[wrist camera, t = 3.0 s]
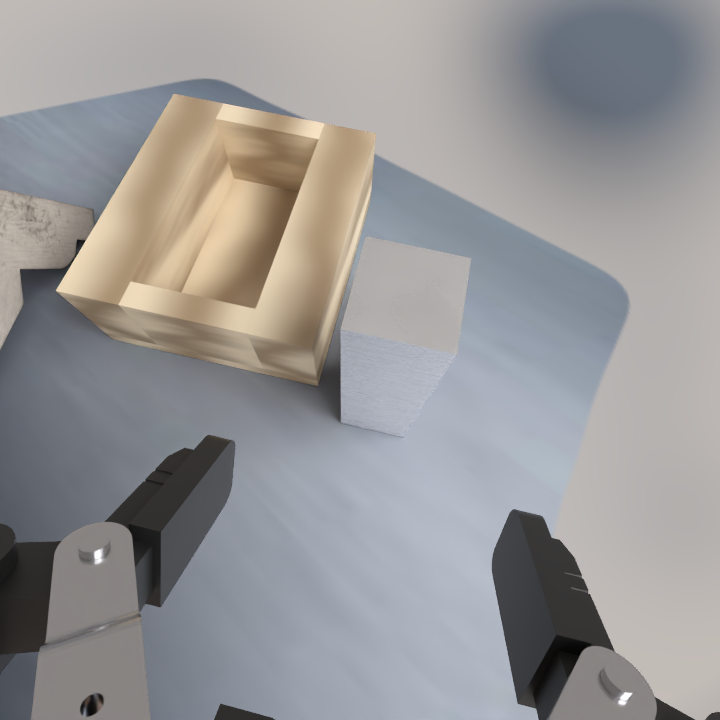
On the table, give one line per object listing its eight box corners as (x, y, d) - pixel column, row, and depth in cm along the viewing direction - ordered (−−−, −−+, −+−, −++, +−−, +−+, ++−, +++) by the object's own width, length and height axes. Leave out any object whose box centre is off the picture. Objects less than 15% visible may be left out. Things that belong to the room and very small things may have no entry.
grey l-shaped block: (340, 423, 26) (340, 328, 14) (373, 289, 30) (395, 126, 18) (403, 437, 26) (456, 354, 14) (428, 301, 30) (487, 145, 18)
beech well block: (113, 339, 28) (55, 290, 22) (201, 166, 34) (173, 93, 28) (318, 386, 27) (312, 348, 21) (370, 200, 33) (376, 133, 28)
